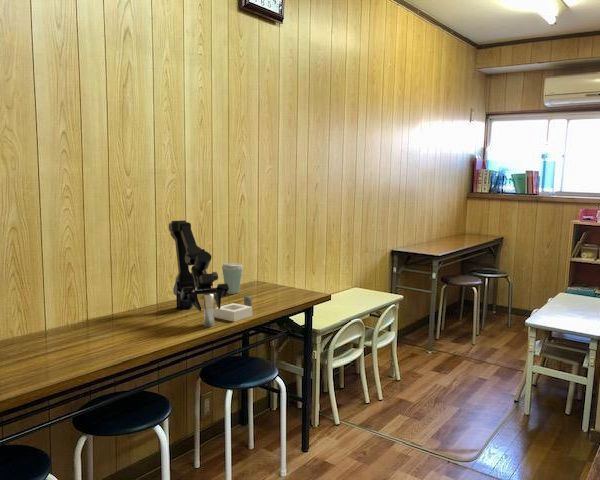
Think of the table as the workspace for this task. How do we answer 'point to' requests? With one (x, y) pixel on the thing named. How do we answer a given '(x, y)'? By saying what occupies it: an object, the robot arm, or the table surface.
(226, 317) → the socket block
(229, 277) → the disposable coffee cup
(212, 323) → the steel pin
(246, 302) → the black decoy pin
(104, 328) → the table surface
